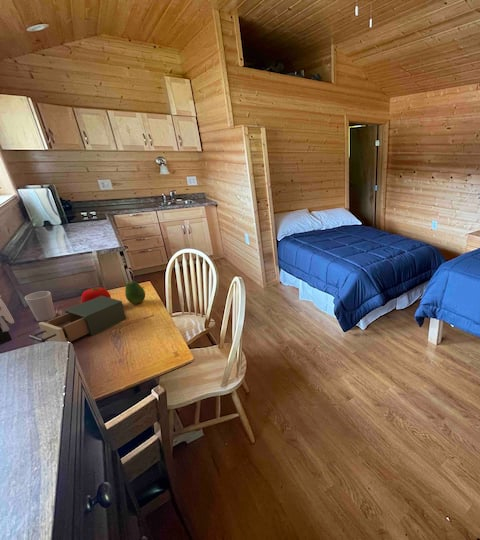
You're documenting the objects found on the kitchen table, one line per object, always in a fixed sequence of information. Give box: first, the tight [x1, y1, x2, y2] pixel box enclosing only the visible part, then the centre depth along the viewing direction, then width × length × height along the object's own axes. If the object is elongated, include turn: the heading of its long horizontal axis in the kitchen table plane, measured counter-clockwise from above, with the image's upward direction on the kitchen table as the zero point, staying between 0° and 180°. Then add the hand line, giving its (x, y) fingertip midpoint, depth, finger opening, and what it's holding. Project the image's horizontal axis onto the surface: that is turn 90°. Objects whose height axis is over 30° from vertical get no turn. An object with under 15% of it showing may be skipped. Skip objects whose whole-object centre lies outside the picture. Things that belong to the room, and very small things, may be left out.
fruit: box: [124, 280, 146, 305], centre depth 150 cm, size 8×8×12 cm
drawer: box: [28, 313, 90, 343], centre depth 121 cm, size 18×11×8 cm, turn 162°
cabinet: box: [64, 296, 127, 337], centre depth 132 cm, size 15×13×10 cm
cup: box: [24, 290, 57, 322], centre depth 132 cm, size 8×8×12 cm
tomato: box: [80, 286, 112, 303], centre depth 143 cm, size 10×11×11 cm
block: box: [57, 321, 72, 338], centre depth 122 cm, size 4×4×4 cm
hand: (4, 341), depth 105 cm, fingers closed
